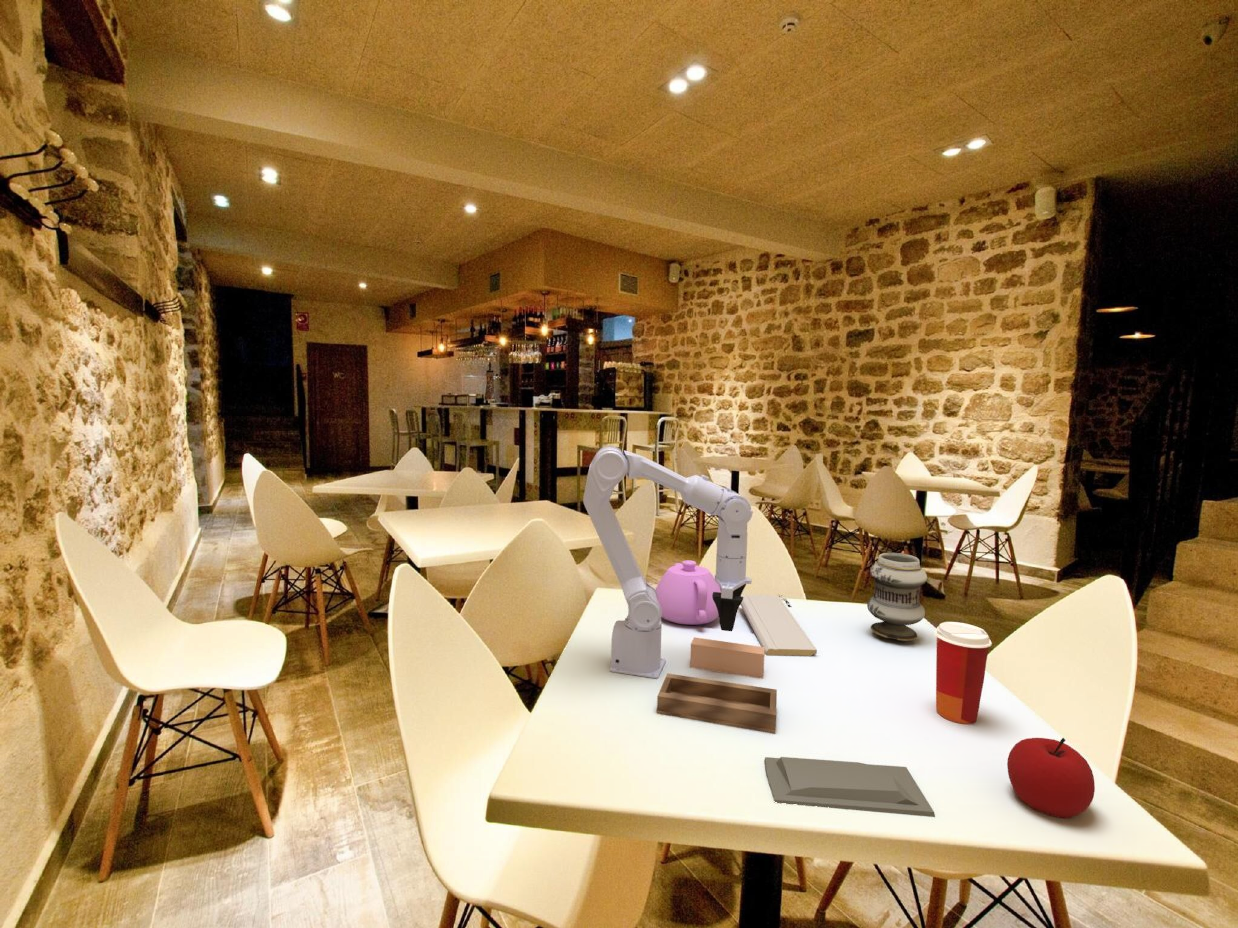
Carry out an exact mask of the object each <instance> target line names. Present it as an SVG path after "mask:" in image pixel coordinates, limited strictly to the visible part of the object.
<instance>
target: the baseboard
mask: <svg viewBox="0 0 1238 928" xmlns="http://www.w3.org/2000/svg"><path fill="white" fill-rule="evenodd" d="M741 597H743V601H742V602H741V604H740V607H741V609H742V610H743V613H744V614H745V617H746V618H747V620H748V622H749V624H750V626H751V629H752V631H753V632H754V633H755V636H756V638H757V639H758V642H759V644H760V645H761V646H760V647H765V656H799V657H802V656H805V657H811V656H812V655H816V654H817V653H818V650H817V648H816V646H815V645H814V644H813V642H812V641H811V640H810V638H809V636H808V635H807V634H806V632H805V630H803V628H802V626H801V625H800V624H799V622H798V621H797V620H796V618H795V617H794V615H793V614H792V613H791V611H790V610H789V609H788V608H791V604H790V601H789V600H787V598H784V599H783V598H782V597H783V595H781V594H780V595H779V594H756V593H754V594H752V593H751V594H750V593H746V594H744V593H742V594H741ZM784 602H785V603H784Z"/></svg>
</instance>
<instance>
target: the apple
mask: <svg viewBox="0 0 1238 928" xmlns="http://www.w3.org/2000/svg"><path fill="white" fill-rule="evenodd" d="M1065 742H1066V739H1065V738H1064V737H1062V738H1061V739H1060V740H1057V739H1054V738H1053V739H1052V738H1045V737H1029V738H1024V739H1022V740H1020V741H1018V742H1017V743H1015V744H1014V745H1013V747H1012V748H1011V750H1010V751H1009V753H1008V758H1007V766H1006V767H1007V774H1008V778H1009V782H1010V784H1011V787H1012V789H1013V791H1014V792H1015V794H1016V795H1017V797H1019V799H1020V800H1021V801H1022V802H1023V803H1024V804H1026V805H1027V806H1028V807H1029V808H1031V809H1033V810H1035V811H1036V812H1040V813H1042V814H1046V815H1049V816H1051V817H1056V818H1060V819H1071V818H1074V817H1076V816H1077V815H1080V814H1082V813H1084V812H1086V810H1087V809H1088V808H1090V806H1091V804H1092V802H1093V799H1094V797H1095V791H1096V787H1095V776H1094V774H1093V769H1092V768H1091V766H1090V764H1089V762H1088V761H1087V759H1086V758H1085V757H1084V756H1082V754H1081V753H1080V752H1079V751H1077V750H1076V749H1075V748H1073V747H1072V746H1070V745H1068V744H1067V743H1065Z"/></svg>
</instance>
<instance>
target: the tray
mask: <svg viewBox="0 0 1238 928" xmlns="http://www.w3.org/2000/svg"><path fill="white" fill-rule="evenodd" d="M777 696H778V689H775V688H770V687H769V688H768V687H762V686H755V685H748V684H741V683H734V682H729V681H723V680H722V681H721V680H714V679H709V678H701V677H694V676H688V675H681V674H675V673H668V672H667V674H666V676H665V678H664V681H663V682H662V684H661V686H660V689H659V692H658V694H657V696H656V697H657V698H656V700H657V701H656V704H657V705H656V714H657V715H658V714H659V715H664V716H669V717H675V718H681V719H687V720H690V721H691V720H692V721H698V722H704V723H710V724H715V725H721V726H727V727H732V728H740V729H745V730H751V731H756V732H763V733H768V734H774V735H776V729H777V728H776V727H777V703H778V701H777Z"/></svg>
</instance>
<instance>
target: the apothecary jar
mask: <svg viewBox="0 0 1238 928" xmlns="http://www.w3.org/2000/svg"><path fill="white" fill-rule="evenodd" d="M920 563H921V562H920V559H919V558H918V557H916V556H913V555H911V554H906V553H900V552H899V553H898V552H883V553H881V554H879V556H878V559H877V561H876V562H875V563H873V564H872V565H871V567H870V569H869V573H870V575H871V577H872V578H873V579H874V589H873V596H871V597H870V598H869V599H868V600H867V604H866V607H867V609H868V611H869V613H870V614H871V615H872V616H873V617H875V618H876V619H878V620H880V621H878V622H875V623H872V624H871V625H870V630H871V631H872V632H873V633H874V634H876V635H877V636H880V637H882V638H886V639H893V640H894V639H895V640H896V641H903V642H904V641H905V642H909V641H914V640H916V639H917V638H918V633H917V632H916V631H915V630H914V629H912V628H911V627H909V626H912V625H915V624H917V623H919V622H921V621H922V620H923V619H924V618H925V615H926V611H925V608H924V606H923V605H922V604H921V602H920V601H921V600H920V599H921V598H920V597H921V594H920V593H921V586H922V585H925V583H927V580H928V575H927V573H926V571H925V570H924V569H923V568H922V567H921V565H920Z"/></svg>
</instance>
